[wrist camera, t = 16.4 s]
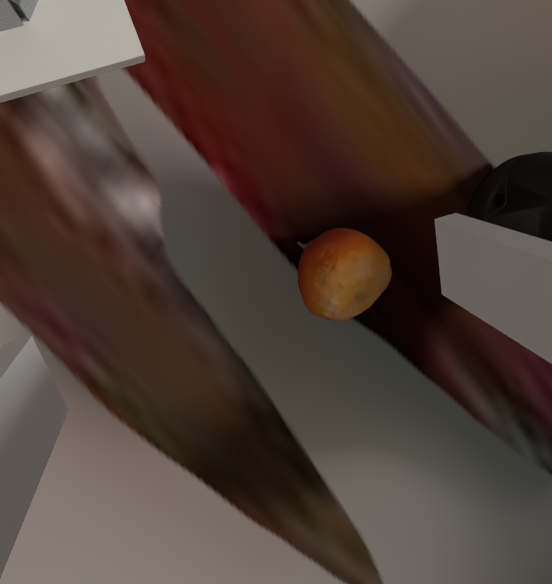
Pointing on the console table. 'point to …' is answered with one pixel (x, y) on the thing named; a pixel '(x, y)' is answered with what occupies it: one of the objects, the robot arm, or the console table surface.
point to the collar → (15, 13)
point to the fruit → (342, 273)
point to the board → (66, 45)
